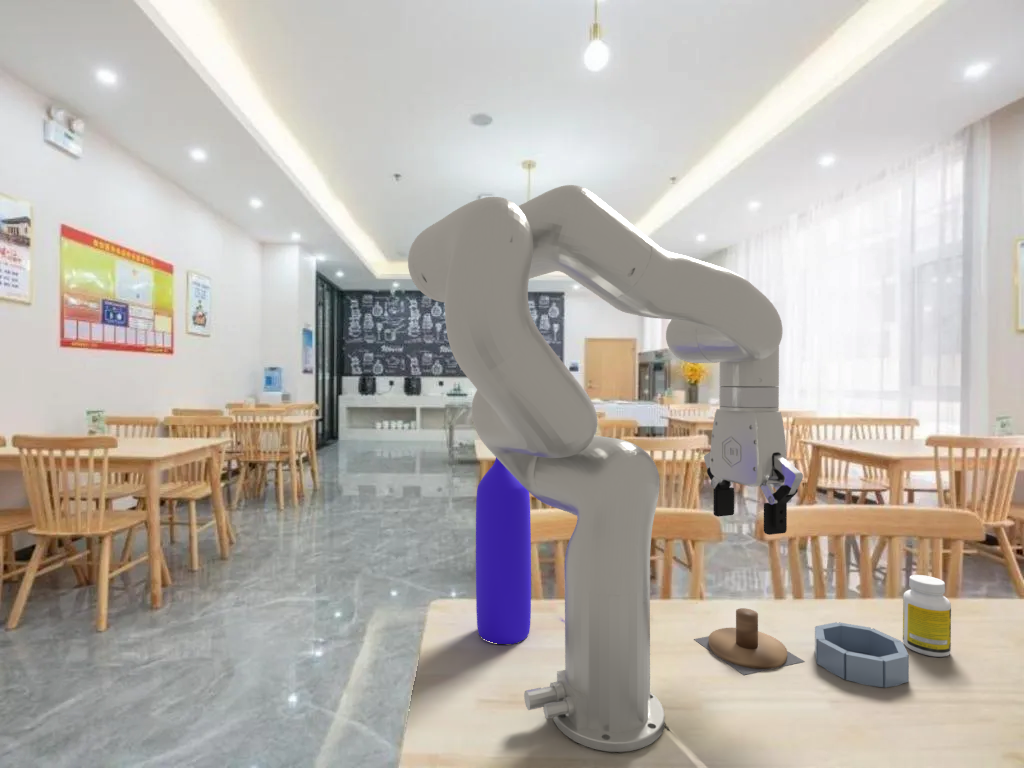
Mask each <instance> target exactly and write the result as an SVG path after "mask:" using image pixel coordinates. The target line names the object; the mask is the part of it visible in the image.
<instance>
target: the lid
mask: <svg viewBox="0 0 1024 768" xmlns="http://www.w3.org/2000/svg"><path fill="white" fill-rule="evenodd" d="M708 636H709V647H710V649H711V651H712V652H713V653H714V654H713V653H712V652H711V653H712V654H713V655H715V656H716V655H717V656H718V657H717V656H716V657H717V658H719V657H720V658H721V659H720V658H719V659H720V660H722V659H723V660H725V661H727V662H730V663H733V664H735V665H739V666H743V667H747V668H754V669H770V670H773V669H772V668H775V669H777V668H776V667H779V668H781V667H780V666H782V665H783V664H785V663H786V661H787V651H788V649H787V647H786V646H785V644H783V643H782V641H780V640H778V639H777V638H776V637H773V636H772V635H769V634H767V633H764V632H762V631H759V613H758V612H757V611H755V610H754V609H750V608H747V607H746V608H745V607H744V608H740V607H739V608H738V609H736V610H735V627H723V628H718V629H715V630H713V631H712V632H710V634H709V635H708ZM723 660H722V661H723Z"/></svg>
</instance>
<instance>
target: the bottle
mask: <svg viewBox="0 0 1024 768" xmlns="http://www.w3.org/2000/svg"><path fill="white" fill-rule="evenodd" d="M475 498H476V499H475V500H476V501H475V504H476V505H475V595H476V596H475V598H476V599H475V601H476V602H475V603H476V606H475V607H476V608H475V609H476V627H477V633H479V634H478V636H479V635H480V636H481V637H482V638H483V639H485V640H487V641H490V642H493V643H497V644H511V645H514V643H516V644H518V642H519V643H521V642H523V641H524V640H526V639H527V637H529V634H530V630H531V613H532V543H531V541H532V535H531V534H532V532H531V531H532V530H531V501H530V500H531V499H530V498H531V496H530V492H529V491H528V490H527V489H526V488H525V487H524V486H523V485H522V484H521V483H520V482H519V481H518V480H517V479H516V478H515V477H514V476H513V475H512V474H511V473H510V472H509V471H508V469H507V468H506V467H505V466H504V465H503V464H502V463H501V462H500V461H499V460H498V459H497V458H496V457H495V460H494V463H493V464H492V465H491V467H490V468H489V469H488V470H487V471H486V473H485V474H484V475H483V477H482V478H481V480H480V481H479V483H478V484H477V490H476V497H475ZM480 636H479V637H480ZM481 637H480V638H481ZM525 638H526V639H525ZM483 639H482V640H483ZM522 640H523V641H522ZM520 641H521V642H520Z"/></svg>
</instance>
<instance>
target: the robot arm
mask: <svg viewBox="0 0 1024 768" xmlns="http://www.w3.org/2000/svg"><path fill="white" fill-rule="evenodd" d="M407 267H408V272H409V275H410V278H411V280H412V282H413V284H414V285H415V287H416V289H418V290H419V291H420V292H421V293H422V294H423V295H425V296H426V297H427V298H429V299H431V300H434V301H436V302H440V303H444V309H445V310H444V314H445V315H444V318H445V327H446V335H447V340H448V343H449V344H448V345H449V348H450V350H451V352H452V355H453V357H454V359H455V361H456V364H457V365H458V366H459V367H460V369H461V371H462V373H463V374H464V375H465V376H466V377H467V378H468V380H469V381H470V382H471V384H472V385H473V386H474V387H475V389H476V391H475V393H474V395H473V398H472V404H471V418H472V423H473V427H474V428H475V431H476V433H477V436H478V437H479V438H480V440H481V442H482V443H483V444H484V446H485V447H486V448H487V449H488V450H489V451H490V452H491V454H492V455H493V456H494V457H495V459H496V458H497V459H498V460H499V461H500V462H501V463H502V464H503V465H504V466H505V467H506V468H507V469H508V471H509V472H510V473H511V474H512V475H513V476H514V477H515V478H516V479H517V480H518V481H519V482H520V483H521V484H522V485H523V486H524V487H525V488H526V489H527V490H528V491H529V494H531V495H532V496H533V497H535V498H536V499H537V500H538V501H540V502H541V503H543V504H545V505H546V506H549V507H551V508H554V509H558V510H560V511H563V512H567V513H570V514H572V515H574V516H576V517H577V519H576V524H575V527H574V530H573V531H572V534H571V536H570V538H569V541H568V542H567V545H566V550H565V555H564V669H562V670H558V671H556V681H554V682H553V681H552V682H550V684H549V686H546V687H538V688H531V689H527V690H524V695H523V697H524V699H523V700H524V704H525V707H526V709H527V710H528V711H531V710H537V709H541V708H543V710H542V711H543V714H544V717H545V718H546V719H553V722H554V724H555V725H556V726H557V728H558V729H559V730H560V731H561V732H562V733H563V734H564V735H565V736H566V737H568V738H569V739H571V740H572V741H574V742H576V743H578V744H579V745H582V746H585V747H587V748H590V749H593V750H594V749H595V750H597V751H603V752H609V753H610V752H612V753H615V752H616V753H617V752H618V753H622V752H631V751H635V750H640V749H642V748H645V747H647V746H649V745H651V744H652V743H654V742H655V741H657V740H658V739H659V738H660V737H661V736H662V734H663V732H664V729H665V722H666V721H665V720H666V716H665V709H664V706H663V705H662V702H661V701H660V699H658V697H657V696H656V695H654V694H653V692H651V546H652V545H651V543H652V533H653V526H654V520H655V514H656V511H657V510H656V509H657V505H658V500H659V494H660V475H659V471H658V467H657V465H656V463H655V461H654V459H653V458H652V457H651V456H650V454H649V453H648V452H647V451H646V450H645V449H643V448H642V447H641V446H639V445H637V444H636V443H633V442H630V441H628V440H624V439H621V438H616V437H615V438H614V437H609V436H607V437H606V436H602V435H596V433H597V429H598V414H597V411H596V408H595V405H594V403H593V401H592V400H591V398H590V396H589V395H588V393H587V391H586V390H585V389H584V387H583V386H582V385H581V383H580V382H579V381H578V380H577V379H576V377H575V376H574V375H573V373H572V372H571V371H570V369H568V367H567V366H566V364H565V363H564V362H563V361H562V360H561V358H560V357H559V356H558V355H557V353H556V352H555V350H554V349H553V348H552V346H550V344H548V342H547V341H546V339H545V338H544V336H543V334H542V333H541V331H540V330H539V329H538V326H537V325H536V323H535V322H534V319H533V316H532V314H531V309H530V304H529V282H530V281H529V280H530V279H534V278H537V277H540V276H543V275H546V274H547V275H548V274H550V273H554V272H560V273H563V274H565V275H566V276H568V277H569V278H571V279H572V280H574V281H575V282H576V283H579V284H580V285H581V286H583V287H585V288H586V289H587V290H589V291H590V292H592V293H593V294H594V295H596V296H598V297H599V298H600V299H602V300H603V301H605V302H606V303H607V304H609V305H610V306H612V307H613V308H615V309H617V310H618V311H621V312H622V313H626V314H630V315H634V316H639V317H645V318H651V319H660V320H661V319H663V320H670V321H669V323H668V325H667V327H666V331H665V339H666V344H667V346H668V348H669V350H670V352H671V354H673V355H674V356H675V357H676V358H678V359H680V360H681V361H684V362H687V363H691V364H692V363H693V364H709V363H710V364H712V363H713V364H715V363H719V393H718V394H719V395H718V396H719V401H718V402H719V405H718V406H719V408H717V409H715V410H716V411H715V414H714V417H713V424H712V430H711V437H710V438H711V439H710V452H707V453H706V454H704V456H703V460H704V464H705V467H706V469H707V470H706V474H707V475H708V477H709V479H710V486H711V488H712V489H713V515H714V516H715V517H729V516H733V515H735V488H734V487H731V486H732V484H733V483H735V484H739V485H741V486H742V485H744V486H747V487H752V488H754V487H756V488H757V487H759V488H760V490H761V492H762V493H763V494H764V498H765V499H766V500H767V502H764V504H763V532H764V533H765V535H781V534H786V533H787V532H788V531H787V530H788V525H787V523H788V519H787V518H788V515H787V513H788V509H787V508H788V506H787V505H788V504H790V503H791V502H792V498H794V496H795V495H797V493H798V489H799V487H800V485H801V482H802V480H803V478H804V474H803V473H802V471H800V470H799V469H798V468H797V467H795V466H794V465H793V464H792V463H790V462H789V461H788V460H787V443H786V434H785V428H784V421H783V416H782V411H780V410H779V408H780V407H779V406H780V404H779V403H780V399H779V398H780V394H779V392H780V391H779V390H780V388H779V386H780V345H781V341H782V339H783V324H782V323H783V322H782V320H781V316H780V314H779V312H778V311H777V309H776V307H775V306H774V304H773V303H772V302H771V301H770V300H769V298H768V297H767V296H766V295H765V294H764V293H763V292H761V291H760V289H758V288H757V287H756V286H755V285H753V283H751V282H750V281H749V280H747V279H746V278H745V277H743V276H741V275H739V274H738V273H736V272H734V271H731V270H729V269H727V268H724V267H721V266H718V265H715V264H712V263H709V262H705V261H702V260H699V259H696V258H693V257H690V256H687V255H683V254H679V253H675V252H671V251H668V250H666V249H664V248H662V247H660V246H659V245H658V244H657V243H656V242H654V241H653V240H652V239H651V238H650V237H648V236H647V235H646V234H644V233H643V232H642V231H641V230H640V229H638V228H637V227H635V226H634V225H633V224H632V223H631V222H629V221H628V220H627V219H626V218H625V217H623V216H622V215H621V214H620V213H618V212H617V211H616V210H615V209H614V208H612V207H611V206H610V205H608V204H607V203H606V202H605V201H604V200H602V198H600V197H598V196H597V195H596V194H595V193H593V192H592V191H590V190H588V189H587V188H585V187H583V186H580V185H574V184H567V185H562V186H558V187H555V188H552V189H550V190H548V191H546V192H544V193H541V194H540V195H538V196H535V197H534V198H532V199H530V200H527V201H526V202H523V203H521V204H520V205H517V204H515V202H513V201H512V200H509V199H507V198H504V197H501V196H500V197H499V196H485V197H482V198H478V199H476V200H473V201H470V202H468V203H466V204H464V205H462V206H460V207H458V208H457V209H455V210H454V211H452V212H451V213H449V214H447V215H446V216H444V217H443V218H441V219H440V220H438V221H436V222H435V223H433V224H432V225H430V226H428V227H426V228H425V229H424V230H422V231H421V232H420V233H419V234H418V235H417V236H416V238H414V240H413V242H412V244H411V246H410V248H409V251H408V257H407ZM773 488H774V489H775V491H774V489H773Z"/></svg>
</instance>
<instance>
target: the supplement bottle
mask: <svg viewBox="0 0 1024 768" xmlns="http://www.w3.org/2000/svg"><path fill="white" fill-rule="evenodd" d="M908 580H909V583H908V585H909V586H908V587H909V588H910V589H908V590H905V592H904V593H903V596H902V597H903V598H902V600H903V601H902V602H903V603H902V606H903V607H902V642H903V644H904V646H905V647H907V648H908V649H909V650H912V651H913V652H916V653H917V654H921V655H925V656H930V657H935V658H939V657H940V658H943V657H947V656H949V655H951V650H952V647H951V646H952V645H951V644H952V643H951V641H952V639H951V638H952V635H951V634H952V627H951V626H952V604H951V602H950V600H949V598H947V597H946V596H945V595H944V594H945V592H946V583H945V581H944V580H942V579H940V578H937V577H934V576H931V575H930V576H929V575H925V574H924V575H923V574H912V575H910V576H909V579H908Z"/></svg>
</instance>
